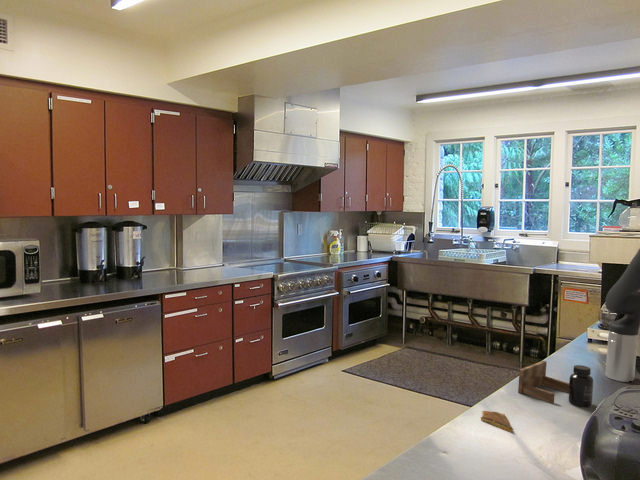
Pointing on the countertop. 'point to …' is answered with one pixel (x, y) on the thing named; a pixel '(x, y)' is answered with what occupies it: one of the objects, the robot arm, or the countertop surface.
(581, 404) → the supplement bottle
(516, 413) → the countertop surface
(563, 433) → the countertop surface
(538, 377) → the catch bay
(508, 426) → the shard
